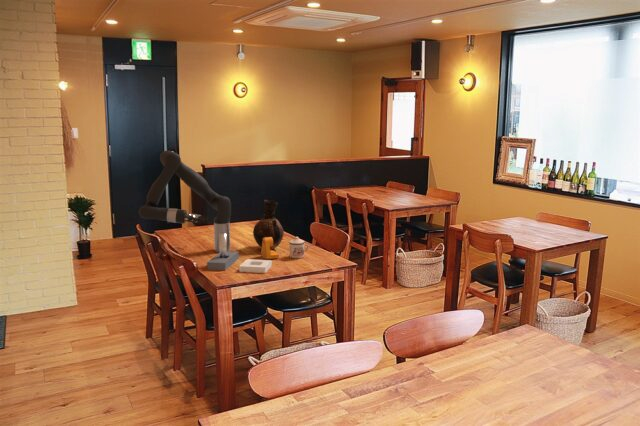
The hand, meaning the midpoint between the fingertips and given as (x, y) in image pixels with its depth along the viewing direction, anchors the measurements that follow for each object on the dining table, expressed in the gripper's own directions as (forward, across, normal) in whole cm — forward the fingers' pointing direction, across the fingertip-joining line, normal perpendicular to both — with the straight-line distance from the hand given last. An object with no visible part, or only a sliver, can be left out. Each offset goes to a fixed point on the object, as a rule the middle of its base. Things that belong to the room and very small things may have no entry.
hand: (206, 219), depth 312 cm
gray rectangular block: (+12, -1, +23) cm, 26 cm away
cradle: (+31, -10, +22) cm, 39 cm away
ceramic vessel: (+33, +34, +19) cm, 51 cm away
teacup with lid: (+53, +16, +18) cm, 58 cm away
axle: (+12, -1, +23) cm, 26 cm away
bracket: (+36, +14, +20) cm, 44 cm away
